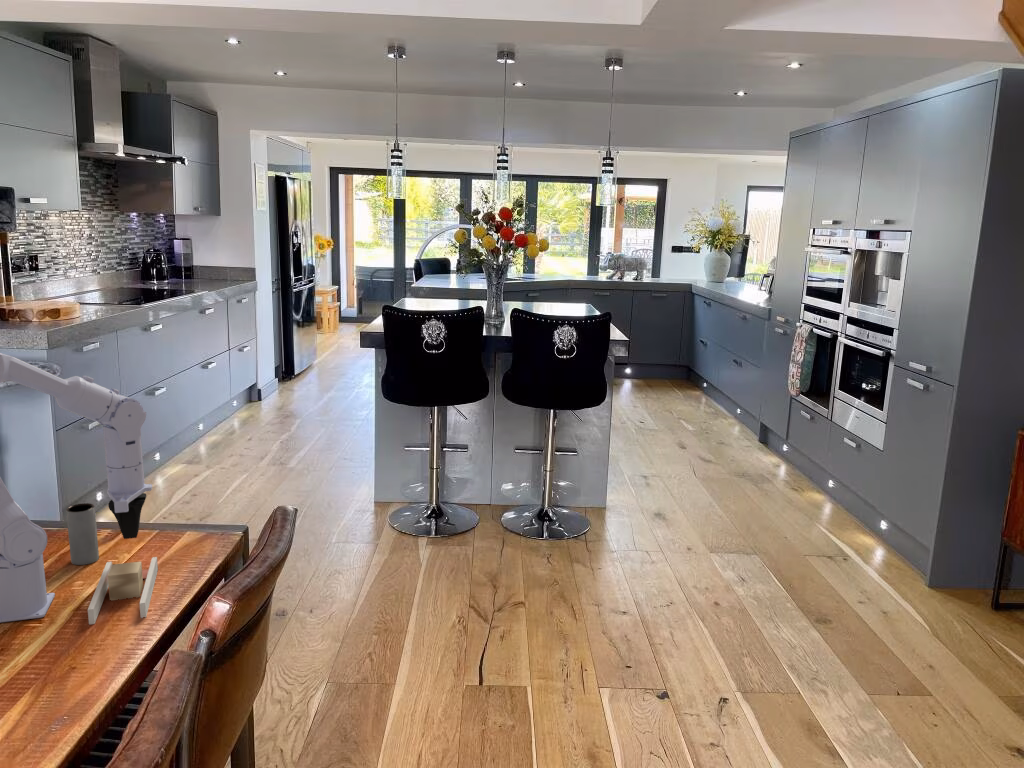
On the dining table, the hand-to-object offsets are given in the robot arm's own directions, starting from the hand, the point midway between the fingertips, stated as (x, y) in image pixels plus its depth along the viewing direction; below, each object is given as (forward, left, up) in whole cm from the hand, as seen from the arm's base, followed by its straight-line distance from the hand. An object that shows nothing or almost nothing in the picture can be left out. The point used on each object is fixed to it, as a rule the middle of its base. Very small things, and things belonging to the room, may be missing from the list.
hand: (130, 536), depth 136 cm
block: (0, -8, -7) cm, 11 cm away
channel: (0, -9, -7) cm, 11 cm away
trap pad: (0, -2, -7) cm, 7 cm away
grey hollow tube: (-9, +8, -7) cm, 14 cm away
